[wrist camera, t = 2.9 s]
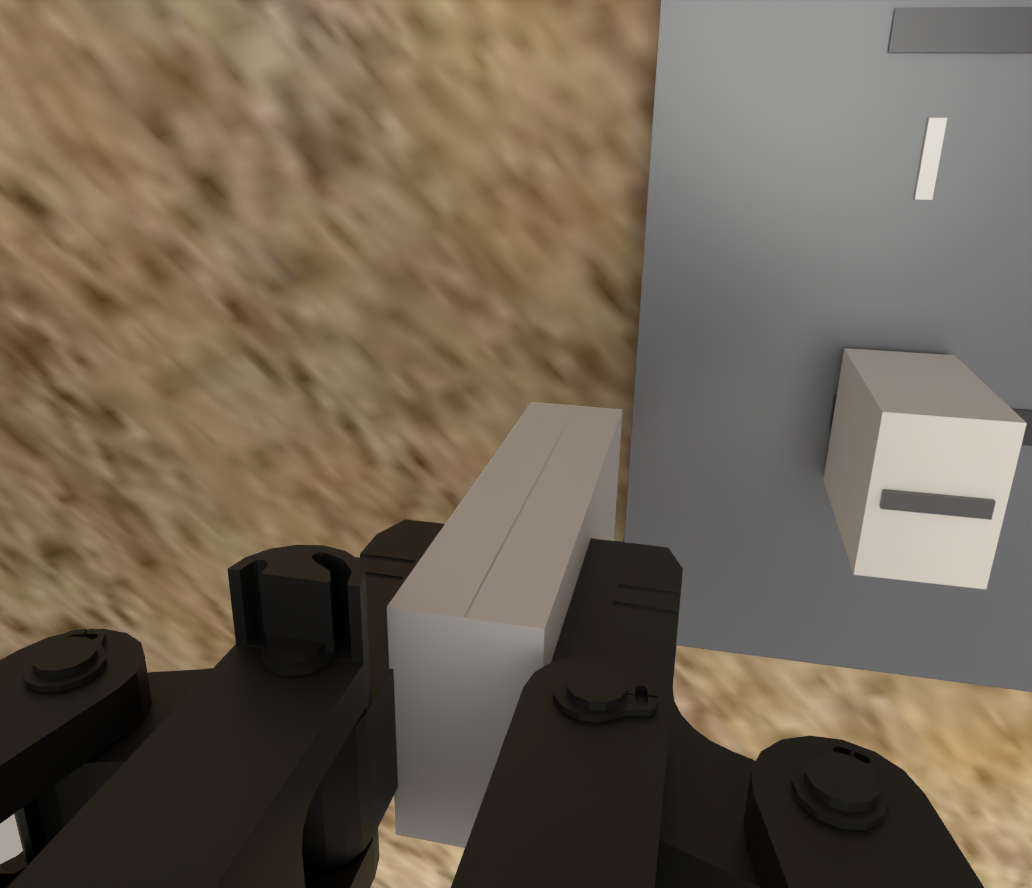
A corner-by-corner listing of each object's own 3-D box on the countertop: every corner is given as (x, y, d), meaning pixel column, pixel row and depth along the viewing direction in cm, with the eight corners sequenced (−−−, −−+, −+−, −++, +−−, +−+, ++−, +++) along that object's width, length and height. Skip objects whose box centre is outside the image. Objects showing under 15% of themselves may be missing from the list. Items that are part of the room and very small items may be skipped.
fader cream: (823, 480, 18) (854, 577, 14) (844, 348, 17) (884, 414, 13) (926, 490, 17) (987, 592, 13) (955, 355, 16) (1028, 425, 12)
